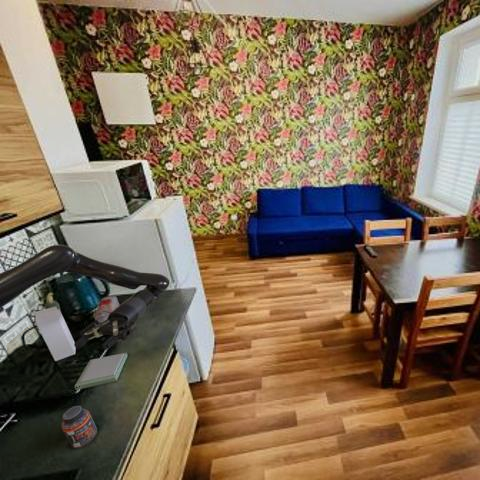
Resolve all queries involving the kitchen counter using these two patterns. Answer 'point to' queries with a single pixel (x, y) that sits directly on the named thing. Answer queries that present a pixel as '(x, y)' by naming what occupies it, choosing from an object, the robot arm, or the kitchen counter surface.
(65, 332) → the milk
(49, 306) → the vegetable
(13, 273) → the robot arm
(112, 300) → the food item
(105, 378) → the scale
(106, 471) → the kitchen counter surface
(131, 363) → the kitchen counter surface
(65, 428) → the supplement bottle
